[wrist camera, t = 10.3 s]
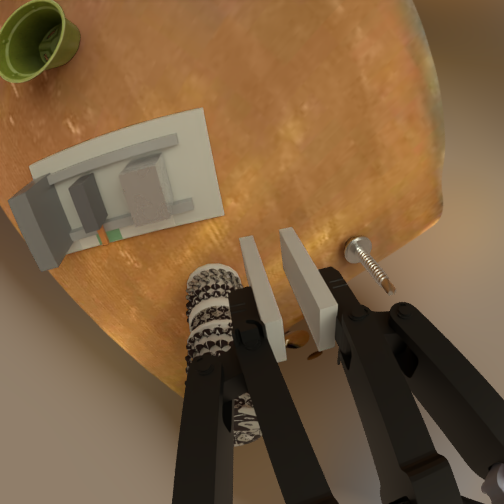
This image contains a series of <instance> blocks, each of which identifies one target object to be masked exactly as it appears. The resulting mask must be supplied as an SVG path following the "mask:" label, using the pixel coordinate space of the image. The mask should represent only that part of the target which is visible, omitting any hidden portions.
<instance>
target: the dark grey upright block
mask: <svg viewBox="0 0 504 504" xmlns="http://www.w3.org/2000/svg"><path fill="white" fill-rule="evenodd" d="M68 190H69V192H70V195H71V198H72V200H73V203H74V206H75V208H76V211H77V213H78V216H79V218H80V221H81V223H82V226H83V228H84V230H85V233H86V234H87V233H90V232H93V231H97V232H98V234H99V237H100V239H101V242H102V244H103V246H104V245H108V244H109V239H108V237H107V234H106V232H105V230H104V227H103V223H104V221H105V220H106V218H107V216H108V214H107V211H106V209H105V206H104V203H103V200H102V197H101V195H100V192H99V189H98V186H97V183H96V180H95V177H94V174H93V173H91V174H88V175H85V176H82V177H80V178H79V179H77V180H76V181H75V182H74V183H73V184H72V185H71V186H70V187H69V188H68Z"/></svg>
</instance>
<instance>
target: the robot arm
mask: <svg viewBox="0 0 504 504" xmlns="http://www.w3.org/2000/svg"><path fill="white" fill-rule="evenodd" d="M279 234H280V243H281V252H282V261H283V269H284V271H285V274H286V276H287V278H288V280H289V283H290V285H291V287H292V289H293V292H294V294H295V296H296V299H297V301H298V303H299V306H300V308H301V310H302V313H303V315H304V317H305V320H306V322H307V324H308V327H309V329H310V331H311V334H312V336H313V338H314V340H315V343H316V345H317V348H318V350H319V351H322V350H326V349H329V348H332V347H335V340H336V342H337V344H338V346H339V351H338V360H337V362H338V365H339V364H340V361H341V363H342V365H343V368H344V371H345V374H346V377H347V380H348V383H349V386H350V388H351V391H352V394H353V397H354V400H355V403H356V406H357V409H358V412H359V415H360V418H361V421H362V424H363V428H364V431H365V434H366V437H367V440H368V443H369V446H370V449H371V453H372V456H373V459H374V463H375V466H376V470H377V473H378V476H379V480H380V485H381V487H380V496H381V500H382V504H483V503H480V502H478V501H474V500H472V499H469V498H466V497H464V496H461V495H460V492H459V489H458V486H457V483H456V481H455V478H454V475H453V472H452V469H451V467H450V464H449V462H448V460H447V459H446V458H445V457H444V456H442V455H440V454H438V453H437V452H436V450H435V448H434V445H433V442H432V440H431V437H430V435H429V432H428V430H427V427H426V425H425V423H424V420H423V418H422V416H421V413H420V411H419V409H418V406H417V404H416V402H415V400H414V397H413V395H412V393H413V394H414V395H415V397H416V398H417V399H418V401H419V402H420V403H421V404H422V406H423V407H424V408H425V409H426V410H427V412H428V413H429V415H430V416H431V417H432V418H433V420H434V421H435V422H436V424H437V425H438V426H439V427H440V429H441V430H442V431H443V433H444V434H445V435H446V437H447V438H448V439H449V441H450V442H451V443H452V445H453V446H454V447H455V449H456V450H457V451H458V453H459V454H460V455H461V457H462V458H463V459H464V461H465V462H466V463H467V465H468V466H469V467H470V468H471V469H472V470H473V471H474V472H475V473H476V474H477V475H479V477H481V478H483V479H484V480H485V482H484V483H483V484H482V487H481V489H482V492H483V493H485V494H487V495H488V496H489V497H490V499H491V501H492V504H504V400H503V399H502V397H501V396H500V395H499V394H498V393H497V392H496V391H495V389H494V388H493V387H492V386H491V385H490V384H489V383H488V382H487V380H486V379H485V378H484V377H483V376H482V375H481V374H480V373H479V372H478V371H477V369H475V368H474V366H473V365H472V364H471V363H470V362H469V361H468V360H467V359H466V358H465V357H464V356H463V355H462V354H461V353H460V351H459V350H458V349H457V348H456V347H455V346H454V345H453V344H452V343H451V342H450V341H449V340H448V339H447V338H446V337H445V336H444V335H443V334H442V333H441V332H440V331H439V330H438V329H437V328H436V327H435V326H434V325H433V324H432V323H431V322H430V321H429V320H428V319H427V318H426V317H425V316H424V315H423V314H422V313H421V312H420V311H419V310H418V309H417V308H415V307H414V306H413V305H411V304H409V303H406V302H399V303H396V304H394V305H393V306H392V307H391V309H390V311H386V312H374V311H371V310H370V309H369V308H368V307H366V306H364V305H361V304H360V303H359V302H358V300H357V299H356V297H355V295H354V294H353V292H352V291H351V289H350V288H349V286H348V285H347V283H346V282H345V280H344V279H343V277H342V276H341V274H340V273H339V271H337V270H336V269H334V268H333V267H327V268H323V269H319V270H318V269H317V268H316V266H315V264H314V262H313V261H312V259H311V257H310V256H309V254H308V252H307V251H306V249H305V247H304V246H303V244H302V242H301V241H300V239H299V238H298V236H297V234H296V233H295V231H294V229H293V228H292V227H289V228H285V229H280V230H279ZM239 241H240V246H241V251H242V256H243V261H244V266H245V271H246V276H247V280H248V284H249V287H245V288H240V289H236V290H231V292H230V295H229V297H228V301H229V307H230V313H231V319H232V325H233V328H232V338H233V341H234V343H233V345H232V347H231V348H230V349H229V350H228V351H226V352H225V353H223V354H221V355H219V356H217V357H216V356H214V355H209V354H205V355H200V356H198V357H196V358H195V359H194V360H193V361H192V362H191V363H190V365H189V368H188V374H187V381H186V388H185V395H184V402H183V411H182V417H181V425H180V433H179V441H178V450H177V459H176V468H175V477H174V488H173V498H172V504H232V501H233V445H234V403H235V398H237V397H239V396H241V395H243V394H244V393H246V392H248V391H249V395H250V398H251V401H252V404H253V408H254V411H255V414H256V417H257V420H258V424H259V427H260V430H261V433H262V436H263V439H264V442H265V445H266V448H267V451H268V454H269V457H270V460H271V463H272V466H273V469H274V472H275V475H276V477H277V480H278V483H279V486H280V489H281V492H282V495H283V497H284V500H285V503H286V504H339V503H338V502H337V500H336V499H335V498H334V496H333V495H332V493H331V490H330V488H329V486H328V484H327V481H326V479H325V477H324V475H323V472H322V469H321V467H320V465H319V463H318V460H317V458H316V455H315V453H314V451H313V448H312V446H311V444H310V441H309V439H308V436H307V434H306V432H305V429H304V427H303V424H302V422H301V420H300V417H299V415H298V412H297V410H296V408H295V405H294V403H293V400H292V398H291V395H290V393H289V390H288V388H287V385H286V383H285V381H284V378H283V376H282V373H281V371H280V368H279V366H278V363H277V362H281V361H285V360H287V359H286V350H285V340H284V331H283V322H282V317H281V315H280V312H279V309H278V306H277V303H276V300H275V298H274V295H273V292H272V289H271V286H270V283H269V281H268V278H267V275H266V272H265V269H264V266H263V264H262V261H261V258H260V255H259V252H258V249H257V247H256V244H255V241H254V238H253V235H252V236H247V237H242V238H239ZM411 392H412V393H411Z"/></svg>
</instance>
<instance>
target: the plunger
mask: <svg viewBox="0 0 504 504" xmlns="http://www.w3.org/2000/svg"><path fill="white" fill-rule="evenodd" d="M119 180H120V183H121V186H122V189H123V192H124V195H125V198H126V201H127V204H128V207H129V210H130V213H131V216H132V219H133V222H134V224H135V227H139V226H142V225H146V224H150V223H154V222H158V221H163V220H167V219H170V218H171V212H172V206H173V201H174V196H173V192H172V189H171V185H170V181H169V177H168V174H167V170H166V166H165V162H164V158H163V154H162V152H160V153H156V154H152V155H149V156H145V157H142V158H138V159H135V160H131V161H130V162H129V163H128V164H127V166H126V167H125V168H124V169H123V171H122V172H121V173H120V174H119Z"/></svg>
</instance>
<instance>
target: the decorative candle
mask: <svg viewBox="0 0 504 504" xmlns="http://www.w3.org/2000/svg"><path fill="white" fill-rule="evenodd" d="M240 288H243V286H242V284H241V280H240V278H239V276H238V274H237V272H236V271H235V270H233V269H232V268H231V267H230V266H227V265H223V264H220V263H212V264H206V265H203V266H201V267H198V268H197V269H196V270H195V271H194V272H192V273H191V274H190V276H189V279H188V281H187V289H186V292H187V293H188V294H189V295H187V296H186V299H187V300H189V302H188V303H187V304H186V307H187V309H189V310H187V312H186V315H187V316H188V319H187V322H188V323H189V327H190V332H191V334H190V336H189V338H188V340H187V343H188V344H187V346H186V348H187V350H188V356H186V357H185V359H186V361H187V368H186V373H187V374H188V368H189V365H190V363H191V362H192V360H191V358H193V360H194V359H195V358H196V357H198V356H200V355H205V354H209V355H214V356H216V357H217V356H219V355H221V354H223V353H225V352H226V351H228V350H229V349H230V348H231V347H232V345H233V343H234V341H233V338H232V328H233V325H232V319H231V313H230V307H229V301H228V297H229V295H230V292H231V290H236V289H240ZM185 386H186V381H185ZM261 436H262V433H261V430H260V427H259V424H258V420H257V417H256V414H255V411H254V408H253V404H252V401H251V398H250V395H249V391H248V392H246V393H244V394H243V395H241V396H239V397H237V398H235V403H234V445H233V446H240V445H244V444H248V443H251V442H253V441H255V440H257V439H258V438H260V437H261Z"/></svg>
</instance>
